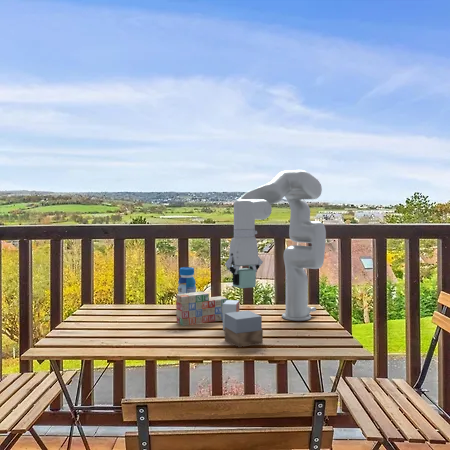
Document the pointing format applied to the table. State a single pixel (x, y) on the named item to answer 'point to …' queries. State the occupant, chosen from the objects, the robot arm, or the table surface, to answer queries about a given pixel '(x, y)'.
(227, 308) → the small box
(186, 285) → the beverage bottle
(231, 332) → the walnut block
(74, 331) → the table surface
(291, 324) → the table surface
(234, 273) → the robot arm
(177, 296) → the stack of blocks
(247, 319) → the grey block
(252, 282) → the green cube
